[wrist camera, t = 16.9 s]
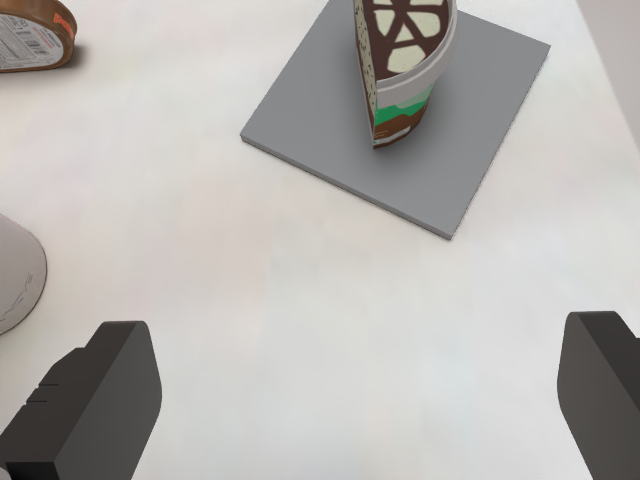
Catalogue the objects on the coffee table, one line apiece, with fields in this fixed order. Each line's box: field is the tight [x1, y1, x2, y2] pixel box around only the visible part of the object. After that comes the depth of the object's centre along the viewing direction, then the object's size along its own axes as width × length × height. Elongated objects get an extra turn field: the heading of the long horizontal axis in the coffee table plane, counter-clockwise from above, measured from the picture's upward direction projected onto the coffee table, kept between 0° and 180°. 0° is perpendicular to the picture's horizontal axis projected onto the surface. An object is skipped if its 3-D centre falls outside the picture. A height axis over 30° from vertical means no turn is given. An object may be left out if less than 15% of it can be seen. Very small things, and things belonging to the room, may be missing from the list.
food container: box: [353, 0, 459, 149], centre depth 40 cm, size 12×6×10 cm, turn 7°
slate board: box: [240, 0, 551, 240], centre depth 45 cm, size 18×18×1 cm
